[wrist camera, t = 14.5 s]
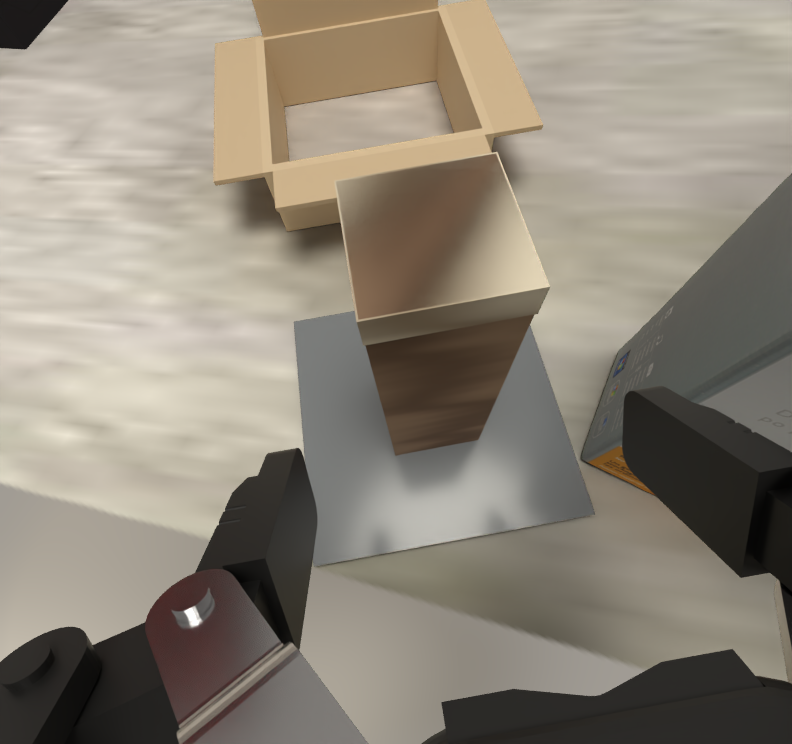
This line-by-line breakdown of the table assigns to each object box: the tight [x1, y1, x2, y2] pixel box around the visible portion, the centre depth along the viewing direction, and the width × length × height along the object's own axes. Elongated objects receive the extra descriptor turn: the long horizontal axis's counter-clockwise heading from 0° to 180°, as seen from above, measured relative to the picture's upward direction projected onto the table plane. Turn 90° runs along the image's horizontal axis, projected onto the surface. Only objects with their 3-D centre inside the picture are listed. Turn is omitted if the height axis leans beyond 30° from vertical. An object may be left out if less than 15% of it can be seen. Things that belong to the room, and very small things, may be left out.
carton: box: [214, 0, 543, 232], centre depth 28 cm, size 20×17×10 cm
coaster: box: [294, 311, 595, 566], centre depth 24 cm, size 14×14×1 cm
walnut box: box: [334, 152, 550, 456], centre depth 17 cm, size 5×5×14 cm
